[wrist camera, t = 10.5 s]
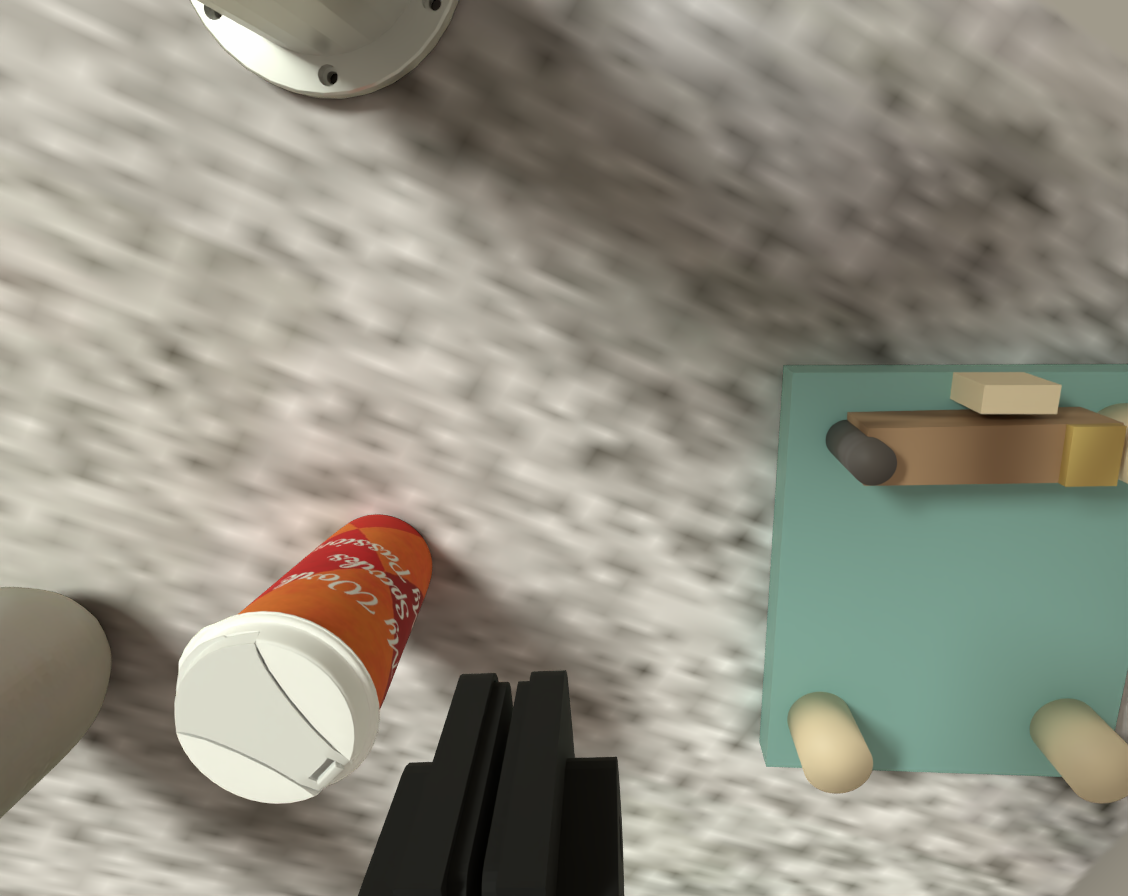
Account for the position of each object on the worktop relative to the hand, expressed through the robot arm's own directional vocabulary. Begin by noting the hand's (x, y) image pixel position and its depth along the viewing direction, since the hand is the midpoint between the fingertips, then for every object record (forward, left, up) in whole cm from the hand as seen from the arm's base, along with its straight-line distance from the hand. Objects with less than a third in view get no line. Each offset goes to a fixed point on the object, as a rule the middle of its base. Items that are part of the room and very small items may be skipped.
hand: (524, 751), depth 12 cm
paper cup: (+9, -11, -26) cm, 30 cm away
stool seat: (+9, +18, -26) cm, 33 cm away
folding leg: (+1, +16, -24) cm, 29 cm away
